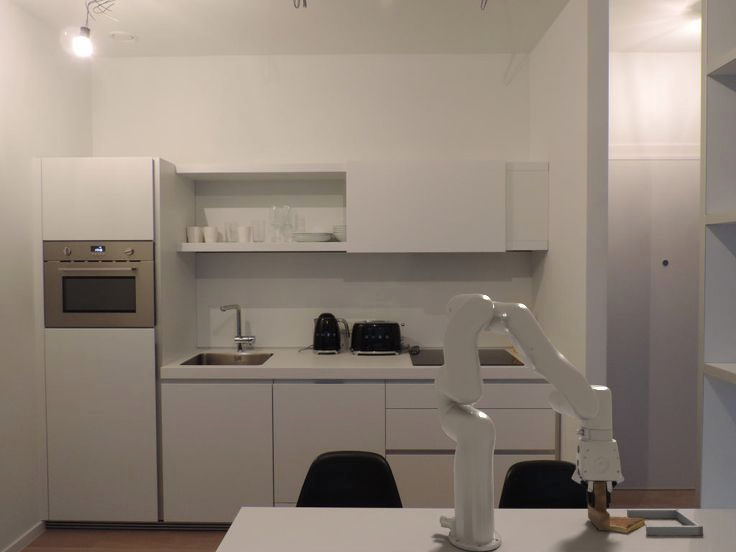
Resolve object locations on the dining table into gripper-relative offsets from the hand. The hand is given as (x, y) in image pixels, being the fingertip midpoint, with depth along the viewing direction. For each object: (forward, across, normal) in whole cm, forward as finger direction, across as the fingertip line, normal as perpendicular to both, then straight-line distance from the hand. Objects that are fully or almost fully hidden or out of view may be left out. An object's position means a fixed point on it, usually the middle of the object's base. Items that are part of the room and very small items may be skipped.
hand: (598, 505), depth 143 cm
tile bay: (+5, +16, 0) cm, 17 cm away
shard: (+6, +6, +1) cm, 8 cm away
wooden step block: (+5, 0, 0) cm, 5 cm away
